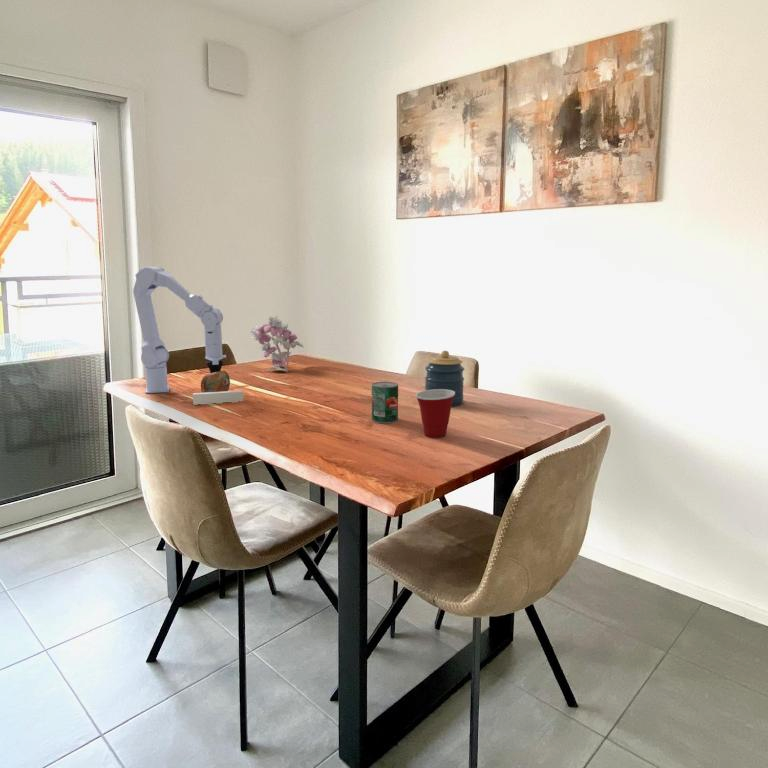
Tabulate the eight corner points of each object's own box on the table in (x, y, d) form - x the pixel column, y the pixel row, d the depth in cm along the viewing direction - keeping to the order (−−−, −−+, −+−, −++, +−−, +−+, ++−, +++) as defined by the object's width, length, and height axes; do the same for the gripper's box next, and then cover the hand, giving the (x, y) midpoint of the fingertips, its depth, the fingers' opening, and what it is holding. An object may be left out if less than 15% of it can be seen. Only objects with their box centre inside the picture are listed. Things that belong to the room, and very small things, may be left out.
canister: (419, 405, 200) (420, 352, 197) (430, 397, 212) (431, 347, 209) (458, 408, 196) (459, 354, 193) (467, 400, 208) (468, 349, 205)
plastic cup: (412, 430, 171) (412, 388, 169) (450, 429, 172) (451, 387, 170) (417, 441, 160) (418, 396, 158) (457, 440, 161) (459, 396, 159)
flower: (321, 364, 268) (301, 312, 270) (293, 367, 247) (272, 311, 249) (285, 381, 276) (267, 330, 278) (256, 385, 255) (236, 330, 257)
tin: (207, 401, 204) (206, 376, 203) (199, 400, 205) (198, 375, 203) (230, 392, 218) (230, 369, 217) (223, 391, 219) (222, 368, 218)
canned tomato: (372, 416, 185) (372, 381, 183) (398, 417, 185) (398, 381, 183) (370, 423, 178) (370, 386, 176) (397, 423, 177) (398, 386, 175)
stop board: (193, 403, 201) (192, 393, 200) (242, 400, 206) (242, 390, 205) (193, 404, 199) (192, 394, 198) (243, 401, 204) (242, 391, 203)
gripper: (226, 346, 209) (228, 384, 212) (223, 340, 223) (225, 377, 226) (205, 346, 207) (207, 385, 210) (203, 341, 221) (205, 378, 223)
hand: (215, 381), depth 218 cm, fingers closed
